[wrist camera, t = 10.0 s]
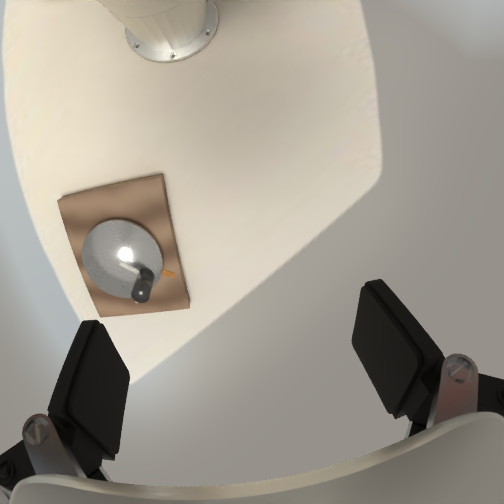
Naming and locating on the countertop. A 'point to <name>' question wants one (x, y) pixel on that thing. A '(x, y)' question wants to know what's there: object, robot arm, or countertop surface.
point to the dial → (123, 259)
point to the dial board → (142, 212)
